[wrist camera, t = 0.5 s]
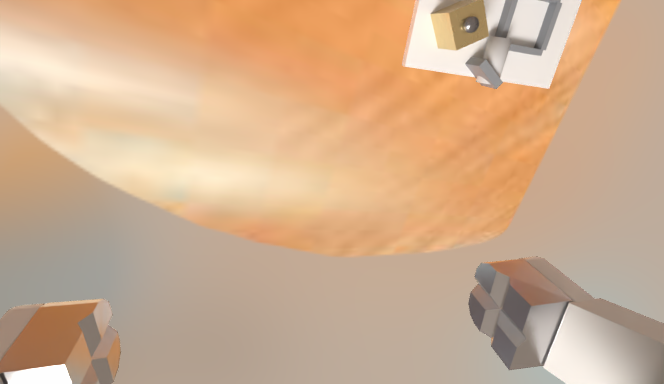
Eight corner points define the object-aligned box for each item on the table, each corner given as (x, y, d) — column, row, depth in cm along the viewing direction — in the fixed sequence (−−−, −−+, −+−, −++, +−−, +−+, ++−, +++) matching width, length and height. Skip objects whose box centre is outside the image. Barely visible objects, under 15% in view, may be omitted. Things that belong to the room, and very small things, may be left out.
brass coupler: (430, 14, 48) (451, 12, 43) (461, 0, 48) (486, -3, 43) (437, 48, 50) (458, 50, 45) (467, 35, 50) (492, 36, 45)
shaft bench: (430, -71, 45) (449, -81, 40) (586, -30, 51) (617, -36, 46) (400, 72, 51) (413, 76, 47) (541, 93, 57) (564, 99, 53)
